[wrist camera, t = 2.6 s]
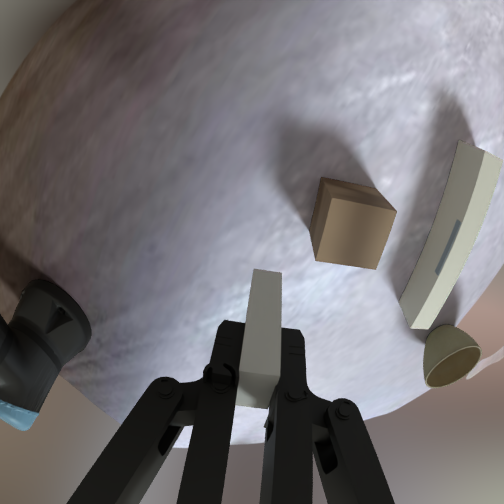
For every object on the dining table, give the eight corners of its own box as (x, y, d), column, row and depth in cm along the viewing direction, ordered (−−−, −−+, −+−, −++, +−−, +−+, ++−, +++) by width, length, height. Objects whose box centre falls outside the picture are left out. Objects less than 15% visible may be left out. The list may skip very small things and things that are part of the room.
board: (397, 302, 35) (409, 328, 30) (457, 139, 23) (484, 150, 19) (415, 303, 35) (428, 329, 30) (476, 148, 23) (503, 160, 19)
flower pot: (401, 352, 40) (412, 387, 34) (437, 307, 35) (456, 342, 29) (440, 358, 41) (452, 389, 35) (474, 317, 36) (492, 348, 29)
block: (308, 230, 30) (315, 260, 25) (321, 176, 27) (332, 197, 22) (360, 239, 30) (375, 269, 25) (376, 188, 27) (397, 211, 22)
